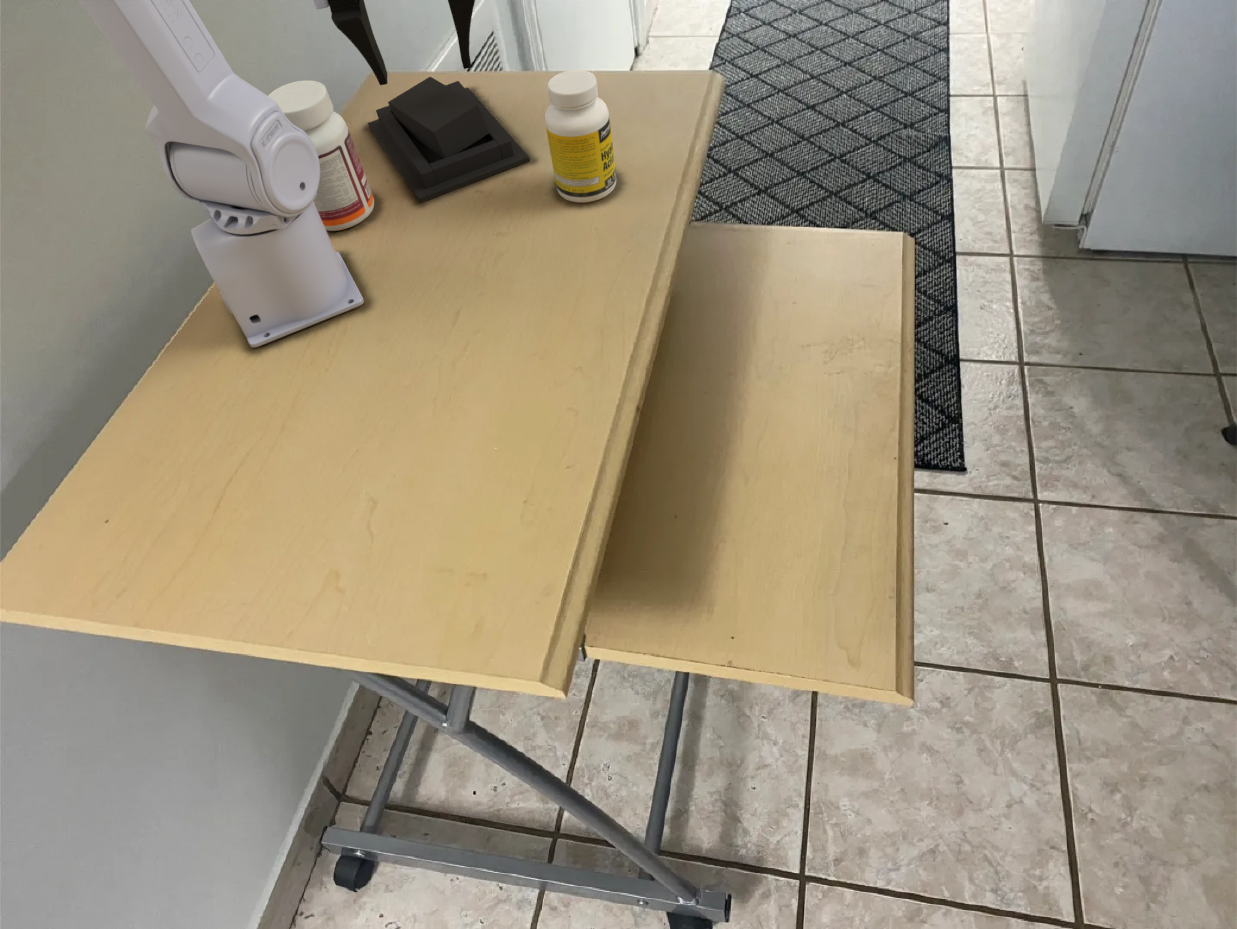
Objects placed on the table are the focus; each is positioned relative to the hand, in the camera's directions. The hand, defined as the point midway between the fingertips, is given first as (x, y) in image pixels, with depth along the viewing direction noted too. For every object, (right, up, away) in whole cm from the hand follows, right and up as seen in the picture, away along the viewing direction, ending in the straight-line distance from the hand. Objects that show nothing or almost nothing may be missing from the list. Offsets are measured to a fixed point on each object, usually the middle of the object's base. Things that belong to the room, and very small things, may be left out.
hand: (425, 71), depth 82 cm
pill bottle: (-7, -13, 0) cm, 15 cm away
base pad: (+1, -5, +6) cm, 7 cm away
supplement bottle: (+15, -11, -2) cm, 19 cm away
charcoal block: (+1, -4, +5) cm, 6 cm away
